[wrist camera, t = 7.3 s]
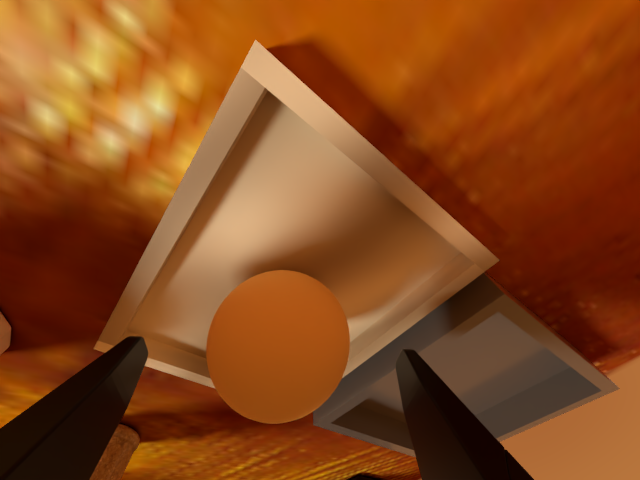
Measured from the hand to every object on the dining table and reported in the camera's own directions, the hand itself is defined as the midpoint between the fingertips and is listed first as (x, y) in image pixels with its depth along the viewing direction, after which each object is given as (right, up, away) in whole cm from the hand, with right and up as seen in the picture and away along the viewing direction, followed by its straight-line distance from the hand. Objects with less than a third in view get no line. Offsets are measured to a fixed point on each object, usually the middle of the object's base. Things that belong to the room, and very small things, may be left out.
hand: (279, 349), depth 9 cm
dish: (+10, -5, +7) cm, 13 cm away
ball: (0, +2, +2) cm, 3 cm away
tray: (0, +2, +3) cm, 4 cm away
